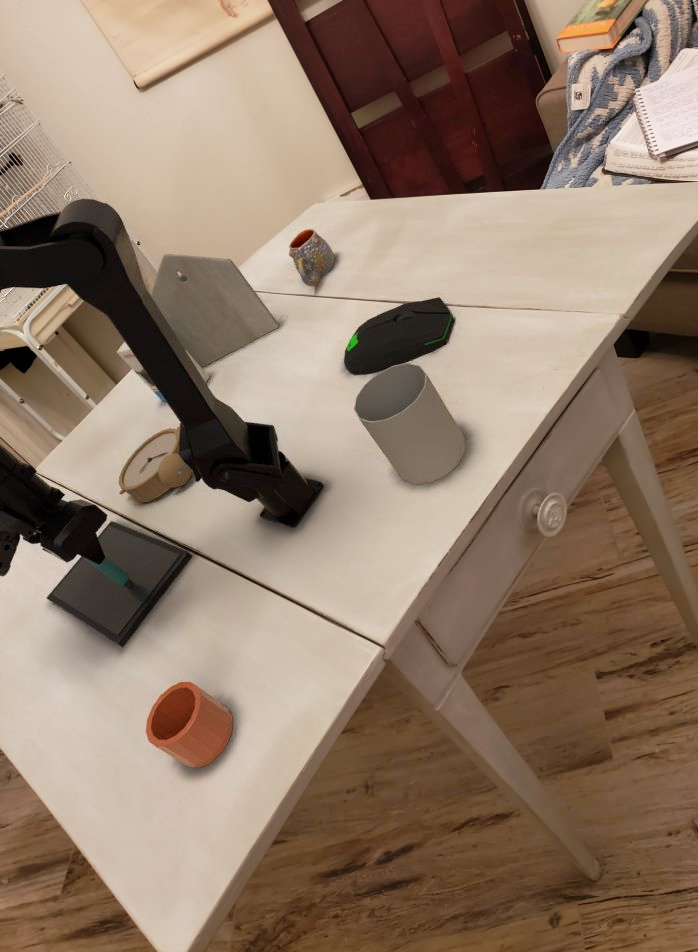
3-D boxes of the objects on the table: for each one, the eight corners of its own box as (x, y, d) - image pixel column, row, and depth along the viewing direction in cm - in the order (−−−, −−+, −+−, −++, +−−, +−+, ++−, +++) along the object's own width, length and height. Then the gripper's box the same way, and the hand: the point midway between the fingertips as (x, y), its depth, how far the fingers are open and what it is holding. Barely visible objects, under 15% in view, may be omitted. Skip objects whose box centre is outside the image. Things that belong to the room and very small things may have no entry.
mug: (307, 265, 130) (287, 235, 126) (340, 251, 128) (320, 220, 124) (295, 304, 122) (274, 272, 118) (330, 289, 119) (309, 257, 115)
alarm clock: (135, 441, 110) (199, 405, 102) (160, 460, 112) (224, 427, 104) (105, 498, 102) (171, 464, 94) (133, 517, 105) (199, 486, 97)
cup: (444, 488, 75) (402, 424, 69) (384, 480, 81) (340, 420, 75) (477, 428, 79) (439, 362, 73) (418, 424, 84) (378, 363, 78)
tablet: (193, 555, 88) (187, 550, 88) (122, 647, 83) (116, 643, 82) (115, 524, 102) (110, 520, 101) (51, 601, 97) (45, 597, 96)
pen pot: (244, 718, 68) (211, 694, 65) (204, 778, 65) (169, 757, 62) (208, 695, 72) (176, 672, 69) (169, 751, 69) (135, 730, 66)
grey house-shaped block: (280, 303, 125) (212, 208, 113) (279, 326, 119) (208, 229, 107) (203, 345, 129) (130, 257, 117) (198, 369, 123) (121, 280, 111)
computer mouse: (349, 337, 106) (335, 317, 103) (452, 294, 100) (440, 271, 98) (344, 386, 98) (329, 365, 95) (456, 342, 92) (443, 318, 90)
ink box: (162, 403, 121) (114, 352, 114) (176, 382, 124) (130, 331, 117) (196, 398, 116) (148, 344, 109) (211, 376, 119) (164, 323, 112)
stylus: (136, 580, 88) (72, 528, 82) (128, 591, 88) (62, 539, 81) (130, 577, 89) (66, 525, 83) (121, 588, 89) (56, 537, 82)
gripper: (-91, 521, 79) (19, 596, 88) (-34, 558, 66) (87, 641, 76) (-16, 444, 83) (81, 523, 93) (52, 466, 71) (155, 555, 80)
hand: (98, 559), depth 85 cm, fingers closed on stylus, 1 cm apart
